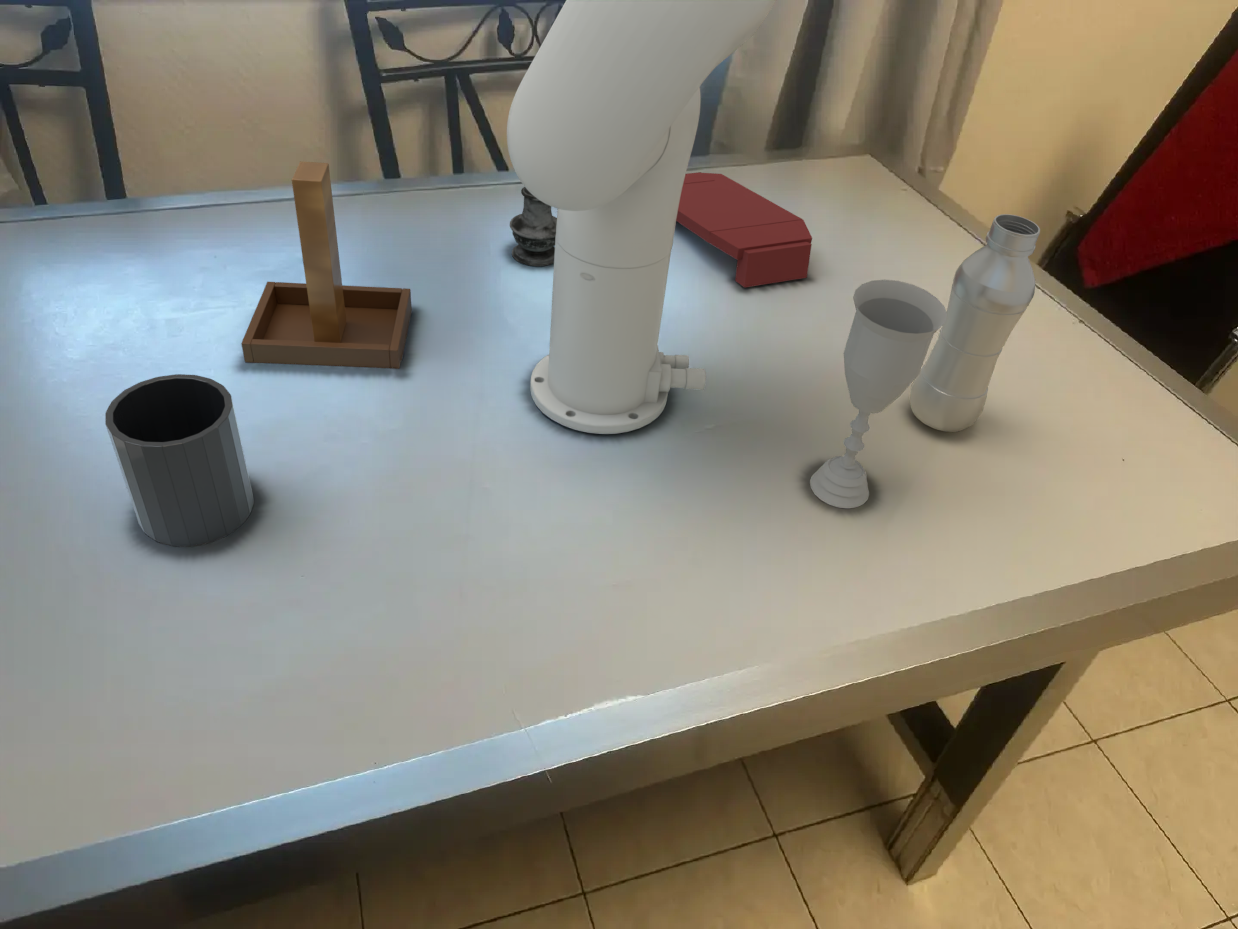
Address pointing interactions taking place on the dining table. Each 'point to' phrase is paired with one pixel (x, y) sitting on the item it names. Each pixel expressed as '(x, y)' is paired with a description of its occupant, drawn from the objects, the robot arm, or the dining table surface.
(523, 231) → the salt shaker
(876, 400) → the chalice
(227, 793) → the dining table surface
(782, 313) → the dining table surface
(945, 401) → the plastic bottle
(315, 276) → the wooden block
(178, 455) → the cup
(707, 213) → the red chamfered block
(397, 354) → the tray
